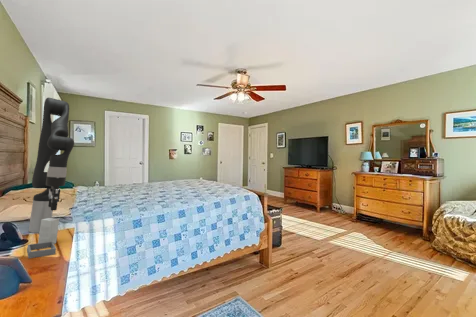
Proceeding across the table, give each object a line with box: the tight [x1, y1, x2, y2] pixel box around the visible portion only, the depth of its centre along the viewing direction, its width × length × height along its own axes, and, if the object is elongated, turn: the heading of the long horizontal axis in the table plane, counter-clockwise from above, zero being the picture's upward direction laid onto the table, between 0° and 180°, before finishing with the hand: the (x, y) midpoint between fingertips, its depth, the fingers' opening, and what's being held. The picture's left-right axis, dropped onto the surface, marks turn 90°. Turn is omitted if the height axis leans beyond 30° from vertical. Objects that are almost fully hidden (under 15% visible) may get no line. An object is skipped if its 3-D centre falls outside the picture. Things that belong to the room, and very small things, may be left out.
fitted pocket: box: [26, 242, 57, 259], centre depth 101 cm, size 10×9×2 cm
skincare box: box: [37, 217, 60, 245], centre depth 111 cm, size 6×4×12 cm
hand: (52, 208), depth 111 cm, fingers open, 8 cm apart
